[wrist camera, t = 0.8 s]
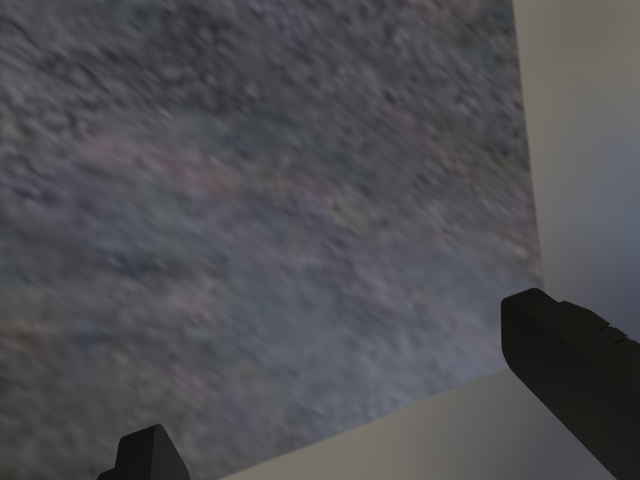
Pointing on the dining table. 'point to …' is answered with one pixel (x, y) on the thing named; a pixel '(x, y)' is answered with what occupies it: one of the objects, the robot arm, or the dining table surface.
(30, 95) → the dining table surface
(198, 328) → the dining table surface
